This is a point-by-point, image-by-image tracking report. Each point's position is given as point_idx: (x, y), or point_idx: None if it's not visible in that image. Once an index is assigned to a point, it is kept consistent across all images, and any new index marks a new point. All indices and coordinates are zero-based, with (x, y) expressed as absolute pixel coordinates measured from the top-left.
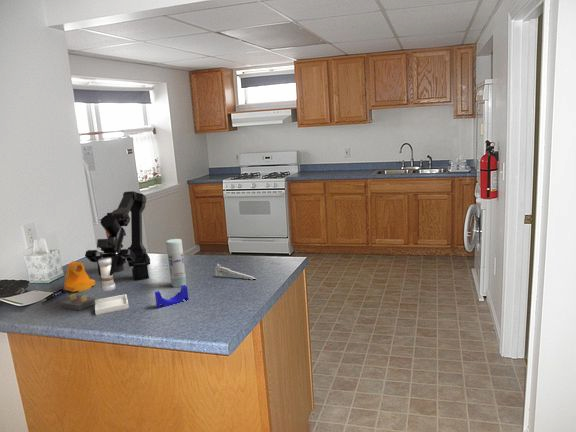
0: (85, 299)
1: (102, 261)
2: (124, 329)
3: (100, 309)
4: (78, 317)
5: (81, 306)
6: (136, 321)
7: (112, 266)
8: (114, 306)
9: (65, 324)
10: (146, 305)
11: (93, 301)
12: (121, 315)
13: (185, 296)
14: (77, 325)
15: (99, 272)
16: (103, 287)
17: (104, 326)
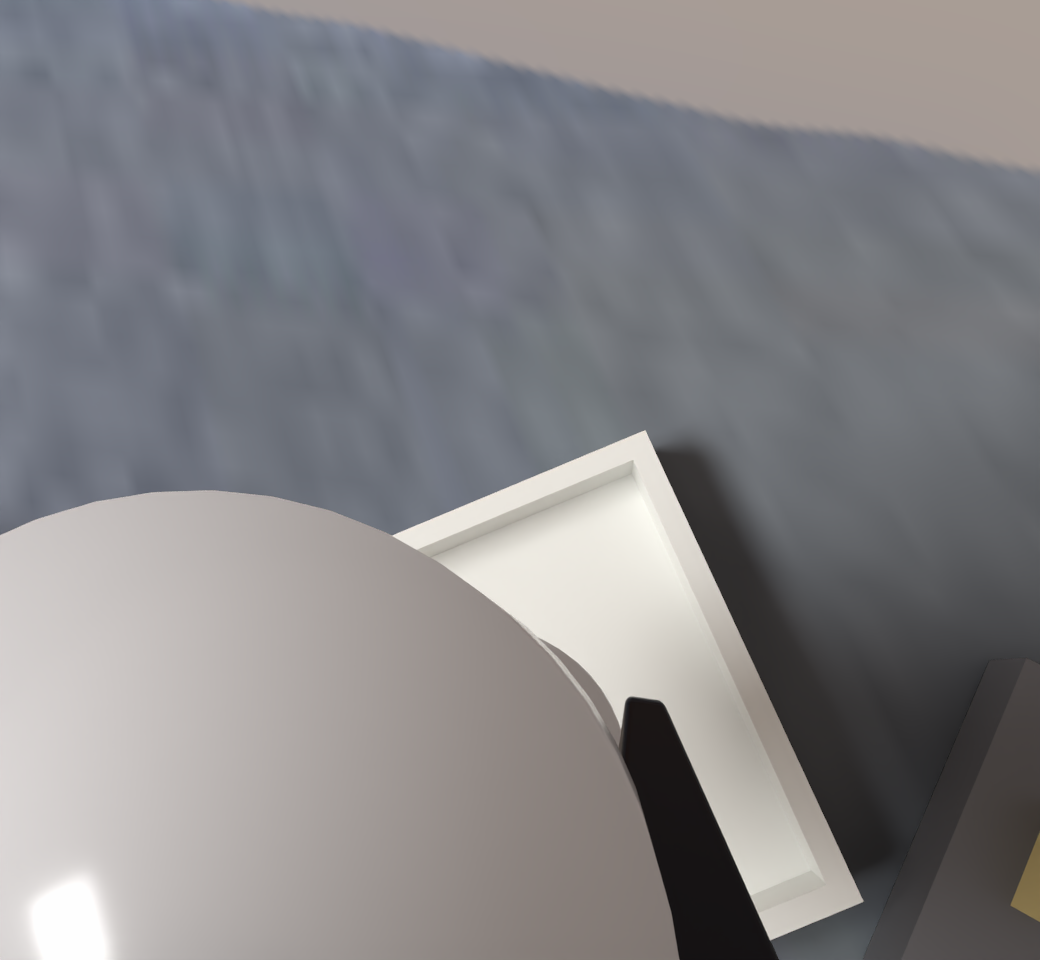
0: (1035, 880)
1: (181, 501)
2: (162, 55)
3: (578, 460)
4: (866, 410)
5: (995, 697)
6: (77, 225)
7: None
8: (399, 535)
9: (927, 218)
10: None
11: (898, 921)
12: (293, 406)
13: None
14: (746, 179)
15: (638, 746)
16: (554, 646)
17: (400, 133)
